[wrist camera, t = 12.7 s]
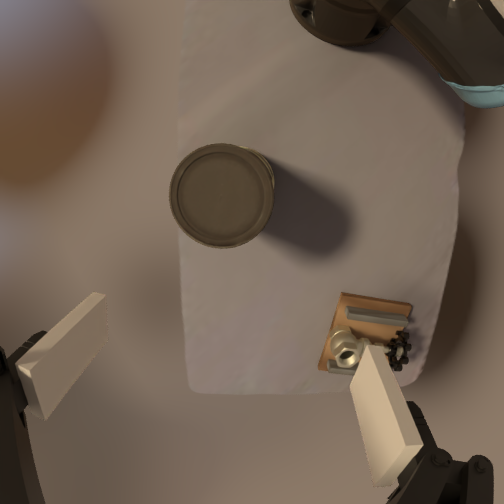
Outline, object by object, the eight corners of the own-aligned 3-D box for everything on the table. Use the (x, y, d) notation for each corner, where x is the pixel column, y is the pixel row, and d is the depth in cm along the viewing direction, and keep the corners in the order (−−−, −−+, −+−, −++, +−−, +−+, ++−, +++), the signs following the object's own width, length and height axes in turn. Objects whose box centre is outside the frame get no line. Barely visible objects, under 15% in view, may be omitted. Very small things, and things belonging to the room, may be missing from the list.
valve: (322, 349, 50) (389, 356, 49) (327, 374, 43) (400, 380, 43) (333, 314, 48) (402, 322, 47) (340, 337, 41) (416, 344, 41)
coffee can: (194, 154, 43) (159, 156, 30) (267, 140, 42) (264, 134, 29) (208, 225, 46) (180, 255, 33) (280, 213, 45) (282, 240, 32)
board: (341, 292, 48) (345, 303, 44) (409, 303, 48) (417, 313, 44) (317, 365, 52) (319, 379, 49) (380, 372, 52) (386, 385, 48)
